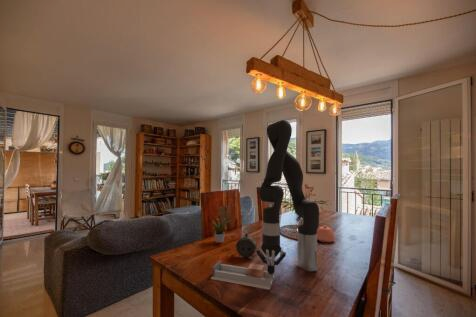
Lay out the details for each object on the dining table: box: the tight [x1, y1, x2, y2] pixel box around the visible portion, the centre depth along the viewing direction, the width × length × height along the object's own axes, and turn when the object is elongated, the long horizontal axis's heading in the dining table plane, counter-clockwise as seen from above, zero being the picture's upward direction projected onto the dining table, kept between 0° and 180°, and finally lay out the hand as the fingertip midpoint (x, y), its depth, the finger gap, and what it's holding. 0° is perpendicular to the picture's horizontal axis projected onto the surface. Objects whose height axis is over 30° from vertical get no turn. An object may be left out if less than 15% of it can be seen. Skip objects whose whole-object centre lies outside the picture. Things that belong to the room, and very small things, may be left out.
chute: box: [210, 259, 275, 290], centre depth 97 cm, size 26×12×5 cm, turn 71°
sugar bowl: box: [317, 224, 336, 243], centre depth 151 cm, size 12×14×10 cm
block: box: [247, 262, 265, 278], centre depth 95 cm, size 6×5×5 cm
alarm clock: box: [235, 228, 258, 259], centre depth 120 cm, size 11×5×16 cm, turn 74°
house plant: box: [211, 217, 232, 242], centre depth 146 cm, size 14×14×16 cm
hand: (270, 273), depth 93 cm, fingers closed
